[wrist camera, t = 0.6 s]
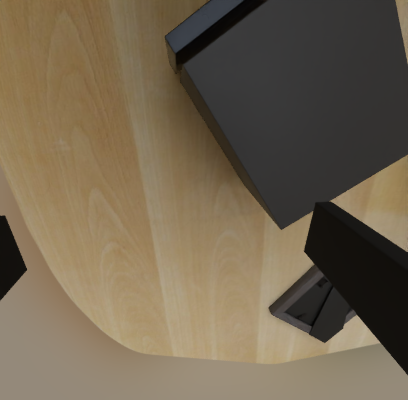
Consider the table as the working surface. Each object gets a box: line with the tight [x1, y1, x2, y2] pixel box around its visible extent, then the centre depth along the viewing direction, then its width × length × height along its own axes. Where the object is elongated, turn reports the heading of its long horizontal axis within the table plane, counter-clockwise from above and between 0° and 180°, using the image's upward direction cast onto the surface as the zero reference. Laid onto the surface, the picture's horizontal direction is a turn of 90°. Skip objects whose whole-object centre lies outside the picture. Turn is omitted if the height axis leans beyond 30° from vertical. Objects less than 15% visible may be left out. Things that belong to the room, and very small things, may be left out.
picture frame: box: [269, 265, 357, 343], centre depth 43 cm, size 16×2×21 cm
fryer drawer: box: [165, 0, 267, 74], centre depth 19 cm, size 30×14×13 cm, turn 33°
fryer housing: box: [180, 0, 408, 230], centre depth 23 cm, size 16×14×13 cm
